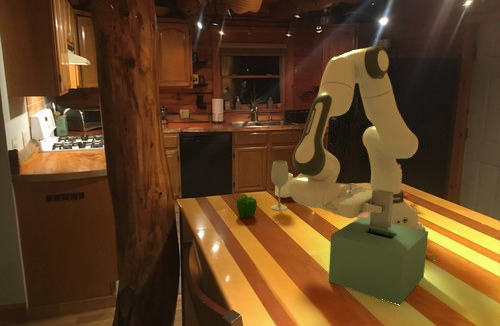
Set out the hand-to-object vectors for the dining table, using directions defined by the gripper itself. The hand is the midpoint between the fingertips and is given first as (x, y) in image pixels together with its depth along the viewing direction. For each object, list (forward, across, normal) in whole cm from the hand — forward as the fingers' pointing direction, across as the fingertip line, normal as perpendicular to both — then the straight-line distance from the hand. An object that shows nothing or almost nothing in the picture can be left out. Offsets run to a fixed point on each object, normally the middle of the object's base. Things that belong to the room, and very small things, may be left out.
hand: (384, 208), depth 111 cm
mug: (-69, +56, +22) cm, 92 cm away
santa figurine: (-25, +80, +21) cm, 86 cm away
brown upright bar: (-1, 0, +6) cm, 6 cm away
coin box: (-1, 0, +22) cm, 22 cm away
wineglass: (-61, +37, +22) cm, 74 cm away
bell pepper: (-64, +18, +22) cm, 70 cm away
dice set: (+6, +26, +22) cm, 34 cm away
